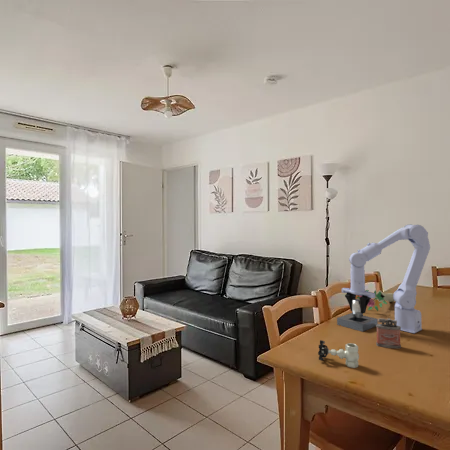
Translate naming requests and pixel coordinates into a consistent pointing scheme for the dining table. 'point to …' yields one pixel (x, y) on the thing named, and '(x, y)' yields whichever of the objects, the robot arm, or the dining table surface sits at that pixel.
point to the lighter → (388, 333)
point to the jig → (357, 322)
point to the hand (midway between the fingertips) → (357, 311)
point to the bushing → (356, 308)
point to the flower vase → (380, 299)
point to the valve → (341, 353)
